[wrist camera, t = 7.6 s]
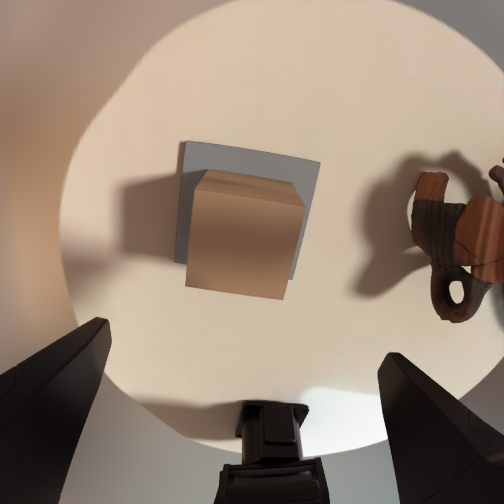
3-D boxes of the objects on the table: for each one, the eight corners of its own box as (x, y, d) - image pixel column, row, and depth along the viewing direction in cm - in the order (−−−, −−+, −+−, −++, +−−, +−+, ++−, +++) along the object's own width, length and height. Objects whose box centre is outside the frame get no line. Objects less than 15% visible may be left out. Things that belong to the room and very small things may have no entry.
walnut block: (275, 256, 21) (282, 300, 16) (198, 245, 20) (185, 286, 16) (292, 182, 18) (306, 207, 14) (208, 168, 18) (194, 189, 14)
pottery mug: (421, 126, 18) (533, 142, 11) (463, 173, 23) (543, 192, 16) (374, 297, 20) (480, 351, 13) (428, 300, 25) (503, 335, 18)
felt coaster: (291, 276, 22) (292, 279, 21) (175, 259, 21) (174, 262, 21) (319, 162, 18) (320, 163, 18) (187, 140, 18) (186, 141, 17)
